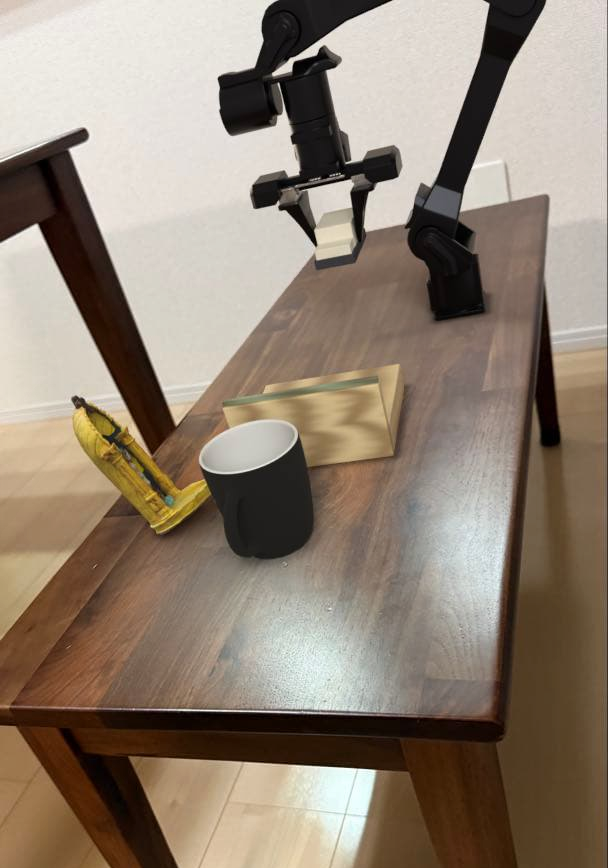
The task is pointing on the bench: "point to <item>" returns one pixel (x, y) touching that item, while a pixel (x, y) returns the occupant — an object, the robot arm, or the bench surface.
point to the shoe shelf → (332, 413)
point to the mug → (260, 487)
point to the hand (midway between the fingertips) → (340, 245)
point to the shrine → (134, 469)
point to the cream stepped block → (337, 240)
